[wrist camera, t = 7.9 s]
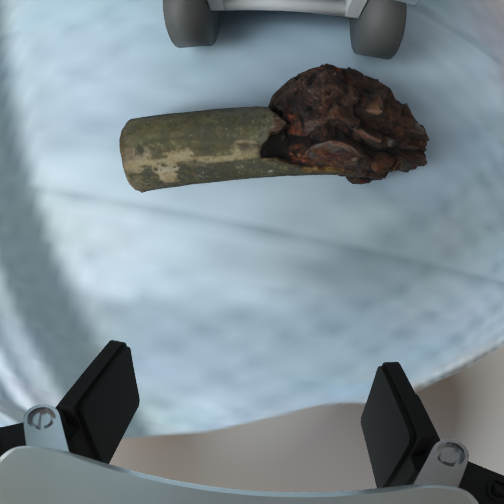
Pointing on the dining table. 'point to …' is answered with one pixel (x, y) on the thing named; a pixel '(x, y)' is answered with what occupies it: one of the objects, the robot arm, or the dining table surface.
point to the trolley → (328, 3)
